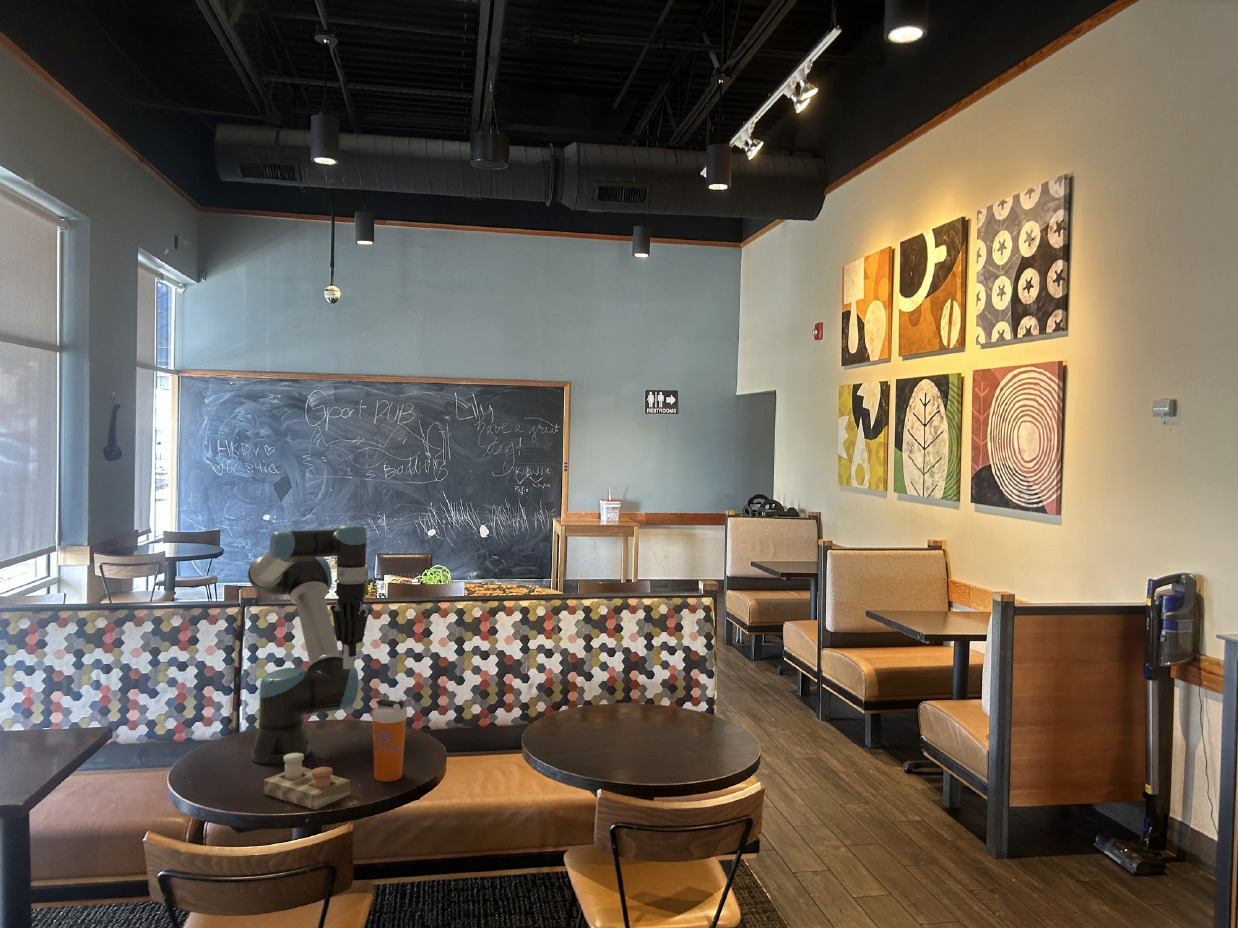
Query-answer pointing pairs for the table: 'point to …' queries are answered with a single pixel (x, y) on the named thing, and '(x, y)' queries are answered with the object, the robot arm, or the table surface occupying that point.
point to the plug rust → (321, 777)
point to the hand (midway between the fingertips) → (348, 667)
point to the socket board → (306, 789)
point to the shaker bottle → (389, 739)
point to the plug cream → (293, 766)
